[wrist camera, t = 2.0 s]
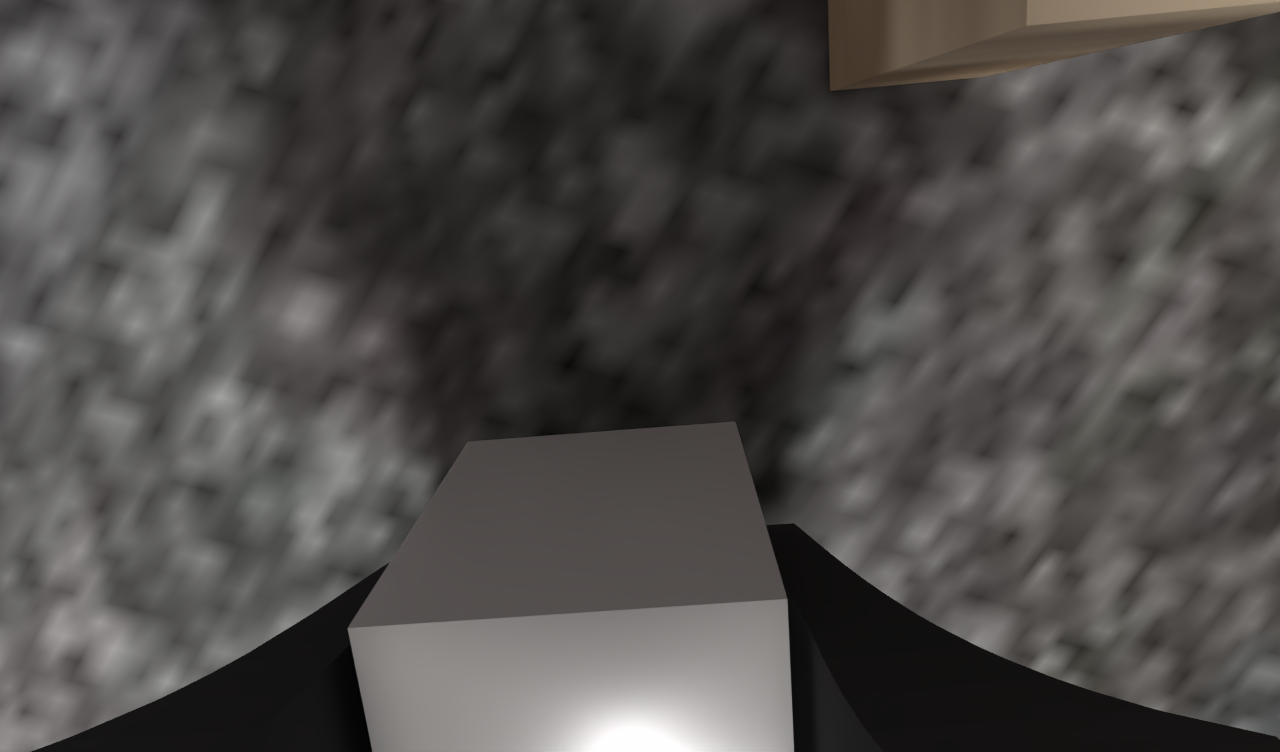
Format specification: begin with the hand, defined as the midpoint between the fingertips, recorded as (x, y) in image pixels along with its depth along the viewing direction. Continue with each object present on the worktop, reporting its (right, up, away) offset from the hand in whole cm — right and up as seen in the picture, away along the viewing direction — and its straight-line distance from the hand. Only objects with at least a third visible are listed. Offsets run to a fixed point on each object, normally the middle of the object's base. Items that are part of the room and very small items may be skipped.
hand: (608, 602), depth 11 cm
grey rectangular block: (0, 0, +1) cm, 1 cm away
